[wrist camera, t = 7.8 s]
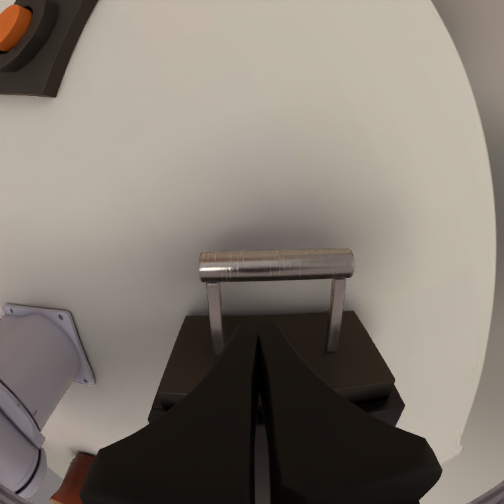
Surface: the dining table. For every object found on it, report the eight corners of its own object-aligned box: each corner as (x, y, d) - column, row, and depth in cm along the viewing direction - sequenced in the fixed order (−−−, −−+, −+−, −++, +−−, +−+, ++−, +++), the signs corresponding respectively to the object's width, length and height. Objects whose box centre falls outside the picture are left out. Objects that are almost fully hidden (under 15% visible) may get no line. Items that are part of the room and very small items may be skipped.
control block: (-12, 94, 14) (-37, 92, 10) (29, -1, 11) (8, -12, 7) (55, 97, 15) (26, 91, 11) (107, -15, 12) (88, -34, 8)
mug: (61, 444, 27) (37, 493, 17) (100, 450, 26) (77, 508, 17) (107, 485, 31) (93, 529, 21) (147, 490, 30) (136, 540, 20)
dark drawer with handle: (175, 232, 17) (129, 280, 10) (362, 228, 17) (424, 271, 10) (208, 434, 23) (200, 497, 16) (328, 429, 23) (343, 490, 16)
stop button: (-5, 53, 10) (-19, 50, 8) (13, 14, 9) (0, 8, 7) (19, 49, 10) (4, 45, 9) (39, 7, 9) (26, 0, 8)
